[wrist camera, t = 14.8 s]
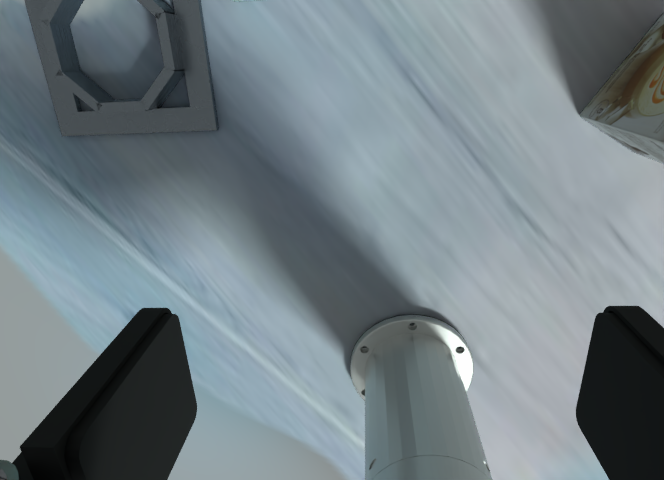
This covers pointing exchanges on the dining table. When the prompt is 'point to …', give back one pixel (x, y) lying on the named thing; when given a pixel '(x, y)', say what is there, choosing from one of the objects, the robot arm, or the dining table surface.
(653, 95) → the coffee box
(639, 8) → the dining table surface
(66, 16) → the square bottle holder
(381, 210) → the dining table surface
